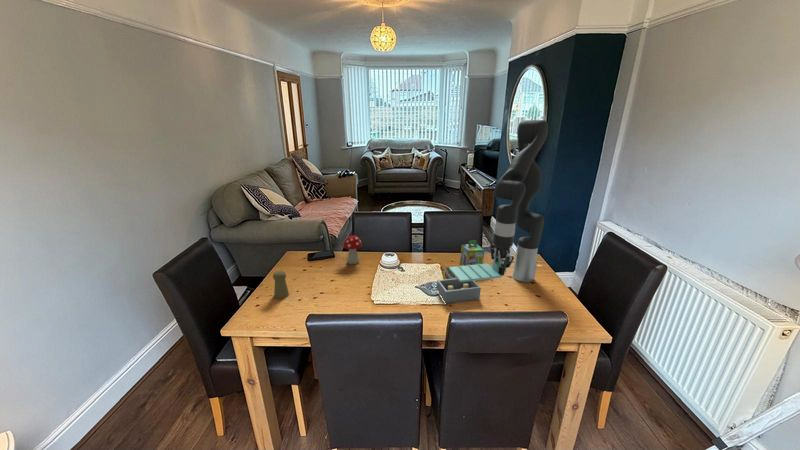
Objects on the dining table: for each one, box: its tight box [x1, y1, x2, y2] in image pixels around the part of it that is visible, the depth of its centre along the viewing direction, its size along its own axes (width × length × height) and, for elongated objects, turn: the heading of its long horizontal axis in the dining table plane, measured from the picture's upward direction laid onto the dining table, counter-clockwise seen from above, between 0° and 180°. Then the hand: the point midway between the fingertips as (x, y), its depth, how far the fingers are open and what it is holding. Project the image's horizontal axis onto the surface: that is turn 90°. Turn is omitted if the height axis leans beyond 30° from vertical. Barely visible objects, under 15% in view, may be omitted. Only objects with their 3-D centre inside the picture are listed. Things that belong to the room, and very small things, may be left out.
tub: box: [436, 277, 482, 305], centre depth 142 cm, size 16×10×6 cm, turn 105°
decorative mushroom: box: [342, 235, 363, 265], centre depth 170 cm, size 10×9×15 cm
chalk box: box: [459, 239, 485, 266], centre depth 167 cm, size 9×9×15 cm
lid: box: [449, 261, 507, 282], centre depth 126 cm, size 21×11×3 cm, turn 105°
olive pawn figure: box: [272, 270, 290, 300], centre depth 139 cm, size 6×6×11 cm
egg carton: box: [444, 266, 455, 279], centre depth 159 cm, size 11×8×4 cm
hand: (498, 273), depth 129 cm, fingers closed on lid, 3 cm apart
